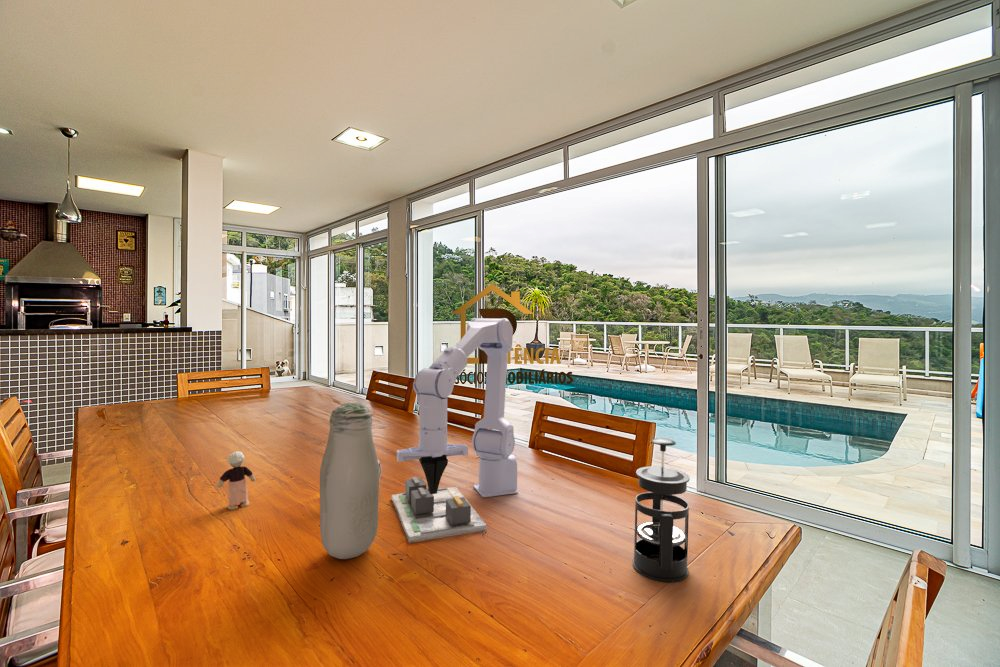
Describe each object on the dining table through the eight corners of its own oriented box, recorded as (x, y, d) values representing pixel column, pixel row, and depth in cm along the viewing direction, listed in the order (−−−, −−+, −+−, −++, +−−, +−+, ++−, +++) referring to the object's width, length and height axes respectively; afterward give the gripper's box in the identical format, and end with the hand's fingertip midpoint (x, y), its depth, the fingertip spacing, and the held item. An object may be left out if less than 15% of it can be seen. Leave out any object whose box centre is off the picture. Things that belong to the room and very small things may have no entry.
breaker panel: (455, 491, 118) (455, 485, 118) (486, 530, 97) (486, 523, 97) (391, 499, 113) (391, 493, 113) (408, 542, 91) (408, 535, 91)
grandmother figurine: (249, 499, 112) (248, 446, 111) (257, 503, 109) (257, 449, 109) (214, 510, 105) (213, 454, 105) (222, 514, 103) (222, 457, 103)
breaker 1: (421, 492, 114) (422, 475, 114) (426, 499, 109) (426, 482, 109) (405, 494, 112) (405, 477, 112) (409, 501, 108) (409, 484, 107)
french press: (629, 550, 89) (632, 431, 89) (681, 555, 88) (684, 433, 87) (636, 584, 78) (639, 447, 77) (696, 591, 76) (700, 451, 75)
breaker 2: (428, 503, 107) (428, 485, 107) (433, 512, 102) (433, 493, 102) (411, 506, 105) (411, 488, 105) (415, 514, 101) (415, 496, 100)
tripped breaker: (463, 512, 102) (463, 494, 102) (470, 522, 97) (470, 503, 97) (445, 515, 100) (445, 496, 100) (451, 525, 96) (452, 505, 96)
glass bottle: (346, 574, 80) (347, 411, 79) (309, 557, 85) (309, 404, 84) (389, 550, 88) (390, 402, 87) (352, 536, 94) (352, 397, 93)
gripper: (400, 434, 90) (400, 504, 90) (472, 428, 95) (472, 494, 96) (395, 426, 96) (394, 491, 97) (462, 421, 102) (462, 483, 102)
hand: (432, 492), depth 97 cm, fingers closed
